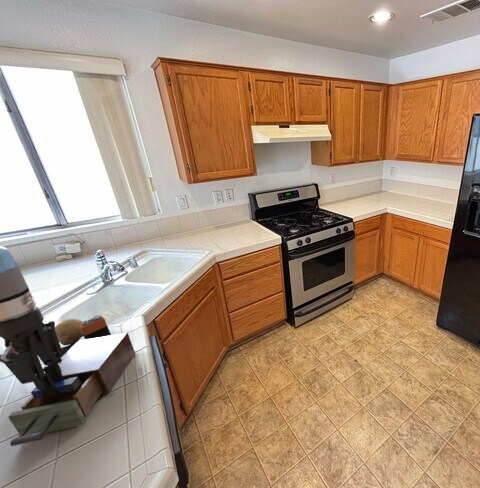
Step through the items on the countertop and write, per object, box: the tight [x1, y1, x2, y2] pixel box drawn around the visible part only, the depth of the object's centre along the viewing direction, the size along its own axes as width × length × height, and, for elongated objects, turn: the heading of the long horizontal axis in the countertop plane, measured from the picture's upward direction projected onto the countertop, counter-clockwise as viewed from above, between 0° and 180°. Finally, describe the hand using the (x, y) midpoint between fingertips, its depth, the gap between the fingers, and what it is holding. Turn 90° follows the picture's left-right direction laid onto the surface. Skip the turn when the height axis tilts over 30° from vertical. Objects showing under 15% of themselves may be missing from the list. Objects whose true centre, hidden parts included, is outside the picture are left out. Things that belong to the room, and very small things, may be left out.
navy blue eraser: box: [30, 377, 81, 399], centre depth 68 cm, size 9×2×2 cm, turn 102°
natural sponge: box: [55, 318, 84, 346], centre depth 98 cm, size 9×9×10 cm
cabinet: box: [58, 332, 136, 396], centre depth 81 cm, size 17×15×9 cm
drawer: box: [7, 372, 104, 447], centre depth 69 cm, size 21×13×7 cm, turn 12°
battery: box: [79, 314, 112, 340], centre depth 98 cm, size 4×7×10 cm, turn 144°
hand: (56, 390), depth 68 cm, fingers closed on navy blue eraser, 2 cm apart
